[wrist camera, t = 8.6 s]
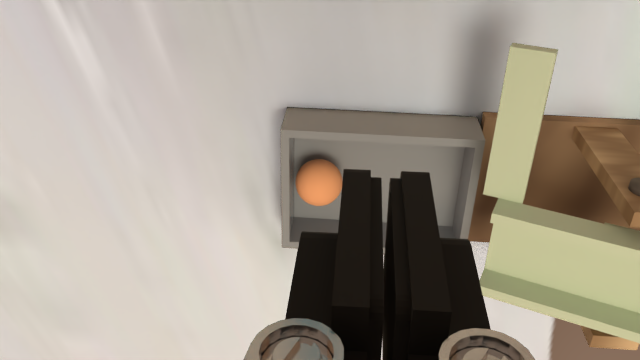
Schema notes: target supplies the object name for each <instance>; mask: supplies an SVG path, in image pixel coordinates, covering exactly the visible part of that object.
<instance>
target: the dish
mask: <svg viewBox="0 0 640 360" xmlns="http://www.w3.org/2000/svg"><path fill="white" fill-rule="evenodd" d="M484 146H485V138H484V135H483V132H482V130H481V127H480V124H479V122H478V119H477V117H473V116H453V115H433V114H413V113H393V112H373V111H353V110H333V109H313V108H294V107H287V110H286V114H285V117H284V120H283V124H282V127H281V212H282V248H297V249H298V246H299V241H300V236H301V232H302V231H306V232H328V233H338V226H339V215H340V204H341V193H342V189H341V192H340V194H339V196H338V197H337V198H336V199H335V200H334V201H333V202H331V203H330V204H327V205H324V206H314V205H311V204H308V203H307V202H305V201H304V200H303V199H302V198H301V197H300V196H299V194H298V192H297V189H296V184H295V181H296V175H297V173H298V171H299V169H300V168H301V167H302V166H303V165H304V164H305V163H307V162H308V161H311V160H314V159H324V160H327V161H329V162H331V163H333V164H334V165H335V166H336V167H337V168H338V169H339V171H340V173H341V176H342V181H343V170H344V169H359V170H371V177H380V178H381V179H382V224H383V254H385V240H386V225H387V211H388V197H389V183H390V178H400V175H401V171H410V172H429V173H430V179H431V185H432V191H433V197H434V204H435V210H436V216H437V222H438V229H439V235H440V238H457V239H468V236H469V230H470V225H471V219H472V213H473V208H474V202H475V197H476V191H477V185H478V180H479V174H480V168H481V163H482V157H483V152H484Z"/></svg>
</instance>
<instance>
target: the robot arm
mask: <svg viewBox="0 0 640 360" xmlns="http://www.w3.org/2000/svg"><path fill="white" fill-rule="evenodd" d="M382 340H383V360H535V359H534V357H533V356H532V355H531V353H530V352H529V350H528V349H527V348H526V347H524V346H523V345H522V344H521V343H520V342H518V341H517V340H516V339H514V338H512V337H510V336H508V335H506V334H504V333H501V332H497V331H494V330H491V329H490V325H489V321H488V316H487V312H486V308H485V303H484V299H483V295H482V290H481V286H480V282H479V277H478V273H477V269H476V264H475V260H474V256H473V251H472V247H471V244H470V241H469V240H468V239H457V238H440V235H439V229H438V222H437V216H436V210H435V204H434V197H433V191H432V185H431V179H430V173H429V172H410V171H401V175H400V178H390V183H389V197H388V211H387V225H386V240H385V254H384V269H383V224H382V179H381V178H380V177H371V170H359V169H344V170H343V181H342V193H341V204H340V215H339V226H338V233H328V232H306V231H302V232H301V236H300V241H299V246H298V252H297V257H296V263H295V268H294V274H293V279H292V285H291V291H290V296H289V302H288V307H287V313H286V318H285V320H280V321H278V322H276V323H273V324H271V325H268V326H267V327H266V328H264V329H263V330H262V331H260V332H259V333H258V334H257V335H256V337H255V338H254V340H253V341H252V343H251V344H250V347H249V349H248V351H247V353H246V355H245V358H244V360H381V347H382Z"/></svg>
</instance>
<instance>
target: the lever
mask: <svg viewBox="0 0 640 360" xmlns="http://www.w3.org/2000/svg"><path fill="white" fill-rule="evenodd" d="M557 52H558V50H557V49H550V48H544V47H537V46H530V45H524V44H517V43H512V45H511V46H510V50H509V56H508V61H507V67H506V72H505V77H504V83H503V88H502V94H501V99H500V105H499V110H498V115H497V121H496V126H495V132H494V137H493V143H492V148H491V153H490V159H489V164H488V170H487V175H486V180H485V186H484V191H483V194H484V195H488V196H492V197H496V198H498V200H497V203H496V205H495V207H494V210H493V212H492V215H491V221H490V223H493V228H492V233H491V238H490V243H489V248H488V253H487V258H486V263H485V268H484V271H483V273H482V276H481V278H480V281H479V282H480V286H481V290H482V295H483V296H486V297H489V298H493V299H496V300H499V301H502V302H506V303H509V304H512V305H515V306H519V307H522V308H525V309H529V310H532V311H535V312H538V313H542V314H545V315H548V316H552V317H555V318H558V319H561V320H565V321H568V322H571V323H575V324H578V325H581V326H584V327H588V328H591V329H594V330H597V331H601V332H604V333H607V334H611V335H614V336H617V337H620V338H624V339H627V340H630V341H634V342H637V343H640V231H639V230H635V229H631V228H627V227H622V226H618V225H614V224H610V223H606V222H605V223H604V224H603V223H599V222H594V221H590V220H586V219H582V218H578V217H574V216H570V215H566V214H562V213H558V212H554V211H549V210H545V209H541V208H537V207H533V206H529V205H525V204H523V201H524V198H525V194H526V190H527V185H528V181H529V176H530V172H531V167H532V163H533V159H534V154H535V150H536V145H537V141H538V136H539V132H540V127H541V123H542V119H543V114H544V110H545V105H546V101H547V96H548V92H549V88H550V83H551V79H552V74H553V70H554V65H555V61H556V56H557Z"/></svg>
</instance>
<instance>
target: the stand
mask: <svg viewBox="0 0 640 360" xmlns="http://www.w3.org/2000/svg"><path fill="white" fill-rule="evenodd" d="M497 115H498V113H492V112H483V115H482V121H481V130H482V132H483V135H484V138H485V146H484V152H483V157H482V163H481V168H480V174H479V180H478V185H477V191H476V197H475V202H474V208H473V213H472V219H471V225H470V230H469V236H468V240H469V241H477V242H490V238H491V233H492V228H493V223H490V221H491V215H492V212H493V210H494V207H495V205H496V203H497V200H498V198H496V197H492V196H488V195H484V194H483V191H484V186H485V180H486V175H487V170H488V164H489V159H490V153H491V148H492V143H493V137H494V132H495V126H496V121H497ZM523 204H525V205H529V206H533V207H537V208H541V209H545V210H549V211H554V212H558V213H562V214H566V215H570V216H574V217H578V218H582V219H586V220H590V221H594V222H599V223H603V224H604V223H605V222H606V223H610V224H614V225H618V226H622V227H627V228H631V229H635V230H639V231H640V120H633V119H612V118H592V117H572V116H552V115H543V119H542V123H541V127H540V132H539V136H538V141H537V145H536V150H535V154H534V159H533V163H532V167H531V172H530V176H529V181H528V185H527V190H526V194H525V198H524V201H523ZM580 326H581V325H580ZM581 329H582V331H583V333H584V336H585V338H586V340H587V342H588V345H589V347H598V348H612V349H627V350H637V348H638V346H639V343H637V342H634V341H630V340H627V339H624V338H620V337H617V336H614V335H611V334H607V333H604V332H601V331H597V330H594V329H591V328H588V327H584V326H581Z"/></svg>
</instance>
